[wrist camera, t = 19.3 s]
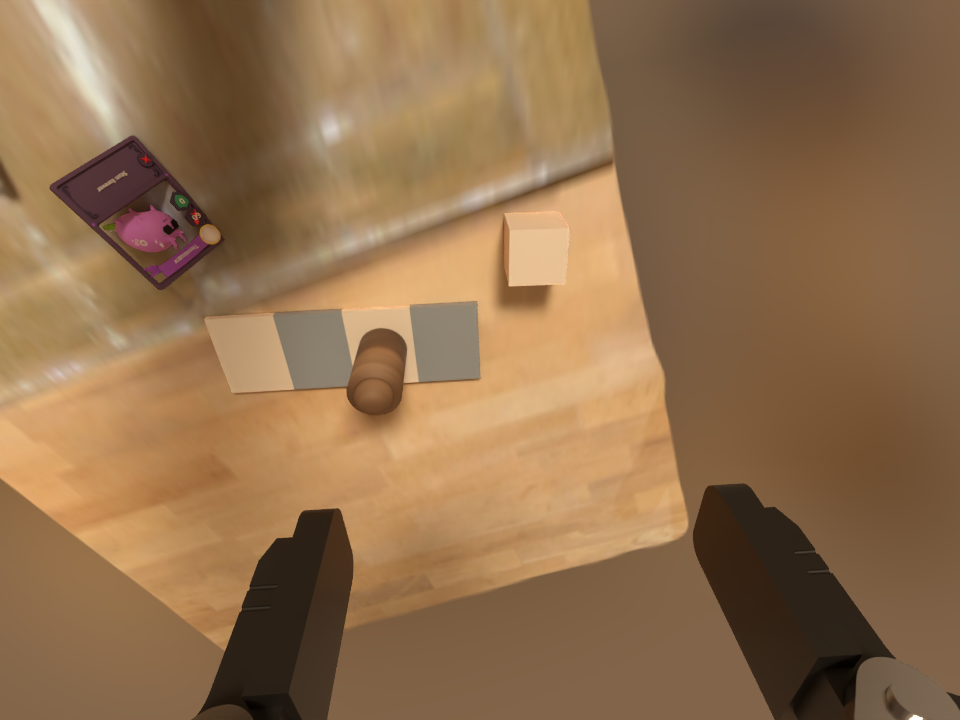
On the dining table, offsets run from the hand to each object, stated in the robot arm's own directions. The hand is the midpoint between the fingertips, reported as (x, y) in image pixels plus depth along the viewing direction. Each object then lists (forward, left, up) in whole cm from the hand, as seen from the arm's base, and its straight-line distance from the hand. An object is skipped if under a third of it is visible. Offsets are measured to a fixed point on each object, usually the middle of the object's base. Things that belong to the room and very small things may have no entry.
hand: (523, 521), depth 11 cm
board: (+14, -12, -33) cm, 38 cm away
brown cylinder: (+14, -9, -32) cm, 37 cm away
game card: (-3, -27, -31) cm, 42 cm away
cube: (+5, +5, -33) cm, 34 cm away
